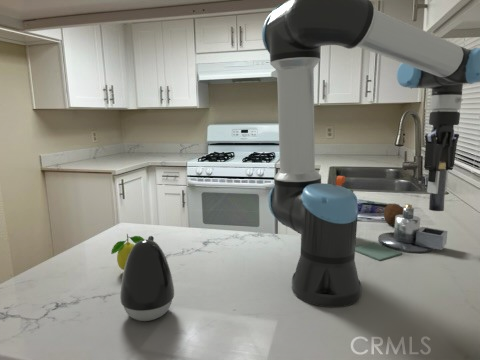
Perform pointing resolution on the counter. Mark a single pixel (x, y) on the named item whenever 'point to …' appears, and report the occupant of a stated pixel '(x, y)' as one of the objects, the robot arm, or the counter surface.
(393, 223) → the potato
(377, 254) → the mat
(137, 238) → the lemon
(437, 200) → the gold capped bottle
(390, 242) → the base
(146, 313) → the black egg-shaped pod
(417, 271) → the counter surface
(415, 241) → the grey cylinder with box
